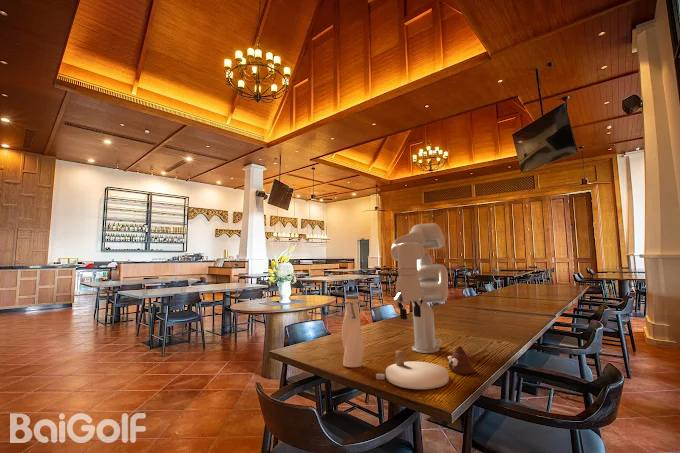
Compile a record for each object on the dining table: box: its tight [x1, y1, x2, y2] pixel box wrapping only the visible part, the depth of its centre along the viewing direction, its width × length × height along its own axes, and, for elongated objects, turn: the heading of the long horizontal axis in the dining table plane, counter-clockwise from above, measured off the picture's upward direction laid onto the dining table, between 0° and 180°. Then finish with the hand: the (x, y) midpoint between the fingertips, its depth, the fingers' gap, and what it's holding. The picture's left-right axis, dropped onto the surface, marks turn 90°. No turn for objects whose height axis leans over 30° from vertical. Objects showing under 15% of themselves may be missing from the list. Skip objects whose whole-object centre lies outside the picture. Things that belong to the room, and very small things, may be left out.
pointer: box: [375, 373, 386, 380], centre depth 116 cm, size 3×1×2 cm, turn 82°
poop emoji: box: [446, 345, 475, 376], centre depth 121 cm, size 10×8×9 cm
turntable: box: [385, 350, 450, 390], centre depth 114 cm, size 22×22×7 cm
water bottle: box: [341, 295, 365, 368], centre depth 133 cm, size 10×9×28 cm
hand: (410, 317), depth 127 cm, fingers open, 6 cm apart
